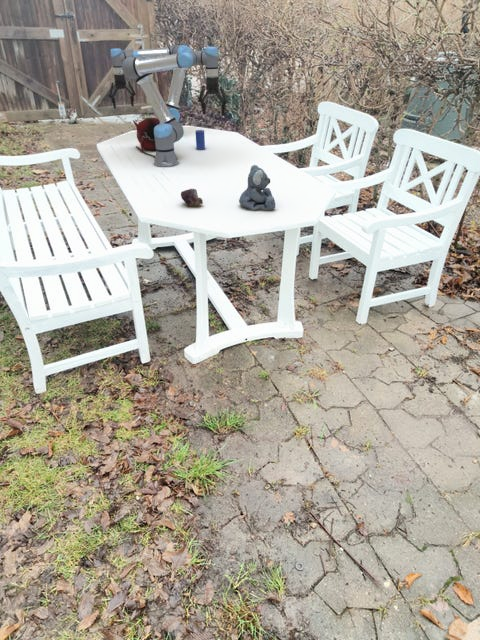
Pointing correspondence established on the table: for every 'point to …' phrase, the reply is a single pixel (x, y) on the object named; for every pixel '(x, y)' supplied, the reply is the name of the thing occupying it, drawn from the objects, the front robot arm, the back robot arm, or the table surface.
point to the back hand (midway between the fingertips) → (123, 107)
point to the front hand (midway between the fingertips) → (213, 115)
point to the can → (200, 140)
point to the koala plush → (257, 191)
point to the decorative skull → (147, 133)
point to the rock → (191, 197)
